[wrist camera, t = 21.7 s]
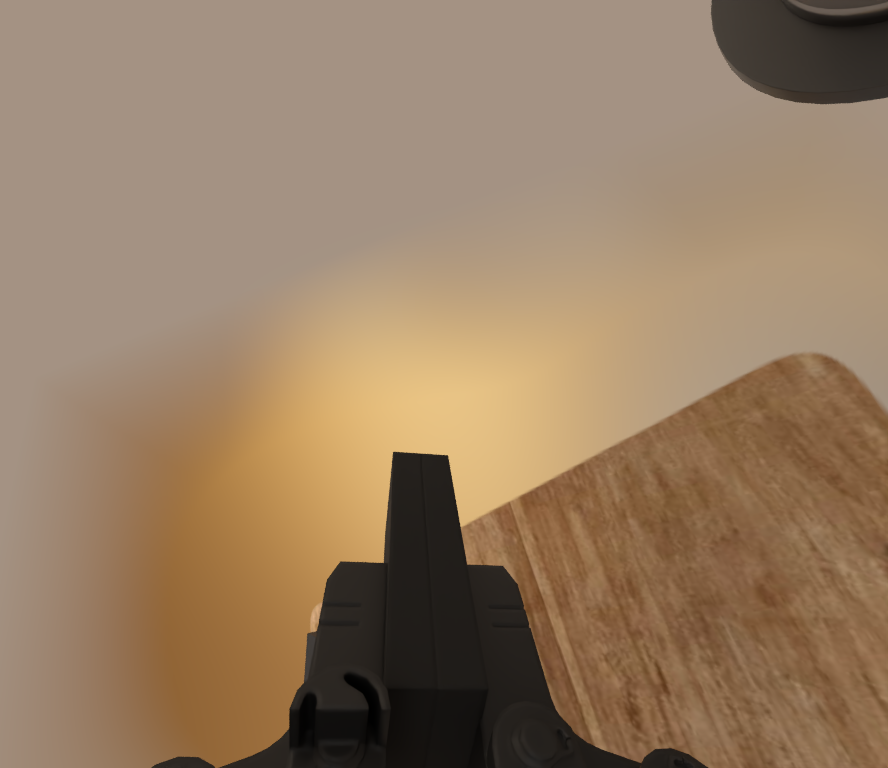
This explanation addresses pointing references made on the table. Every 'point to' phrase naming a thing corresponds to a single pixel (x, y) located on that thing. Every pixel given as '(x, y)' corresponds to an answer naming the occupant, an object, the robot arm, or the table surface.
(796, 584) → the table surface
